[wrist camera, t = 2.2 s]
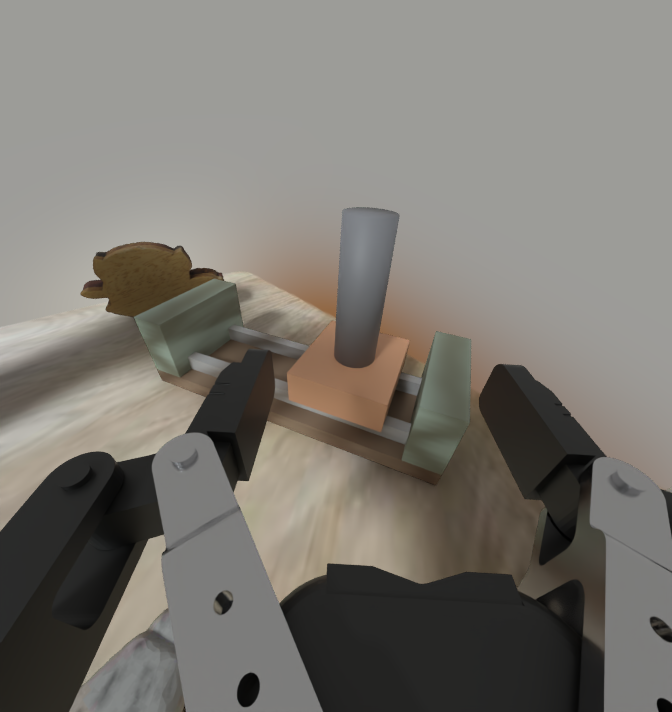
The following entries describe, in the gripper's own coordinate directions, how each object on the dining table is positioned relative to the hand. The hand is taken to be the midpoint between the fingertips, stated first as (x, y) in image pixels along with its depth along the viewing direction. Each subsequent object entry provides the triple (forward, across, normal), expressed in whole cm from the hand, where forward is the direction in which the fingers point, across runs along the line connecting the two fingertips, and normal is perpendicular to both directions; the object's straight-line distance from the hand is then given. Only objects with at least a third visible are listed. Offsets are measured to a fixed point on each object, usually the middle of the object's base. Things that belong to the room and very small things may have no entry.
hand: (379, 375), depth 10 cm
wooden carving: (+27, +26, +14) cm, 40 cm away
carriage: (+11, 0, +10) cm, 15 cm away
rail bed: (+13, +5, +14) cm, 19 cm away
